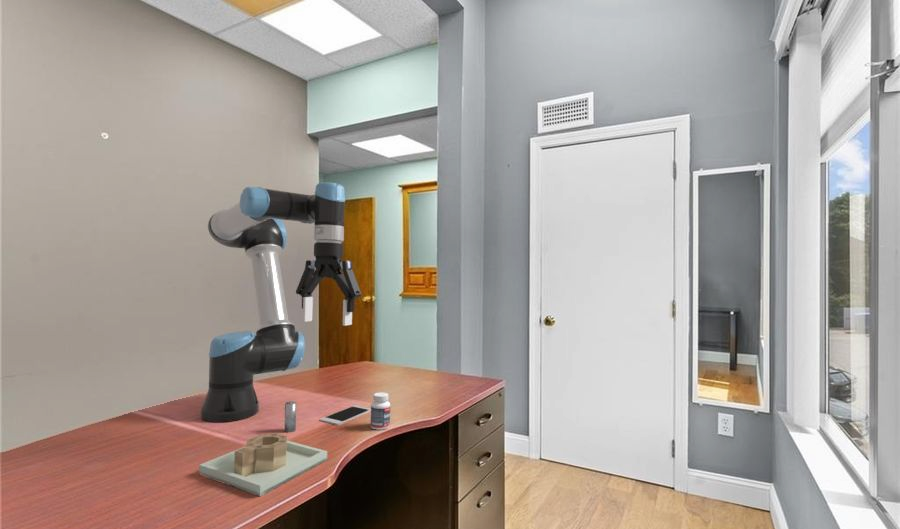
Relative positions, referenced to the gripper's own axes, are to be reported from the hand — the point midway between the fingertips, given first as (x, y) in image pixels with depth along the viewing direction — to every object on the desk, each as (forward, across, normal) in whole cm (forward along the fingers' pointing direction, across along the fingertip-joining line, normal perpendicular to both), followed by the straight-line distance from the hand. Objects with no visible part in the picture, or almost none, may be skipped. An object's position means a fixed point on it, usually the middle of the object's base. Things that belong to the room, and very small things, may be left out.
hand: (326, 323), depth 114 cm
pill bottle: (+29, +10, +11) cm, 32 cm away
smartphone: (+29, -4, +14) cm, 33 cm away
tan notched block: (+28, +3, -22) cm, 36 cm away
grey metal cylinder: (+29, -9, -3) cm, 30 cm away
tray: (+29, +3, -21) cm, 36 cm away
